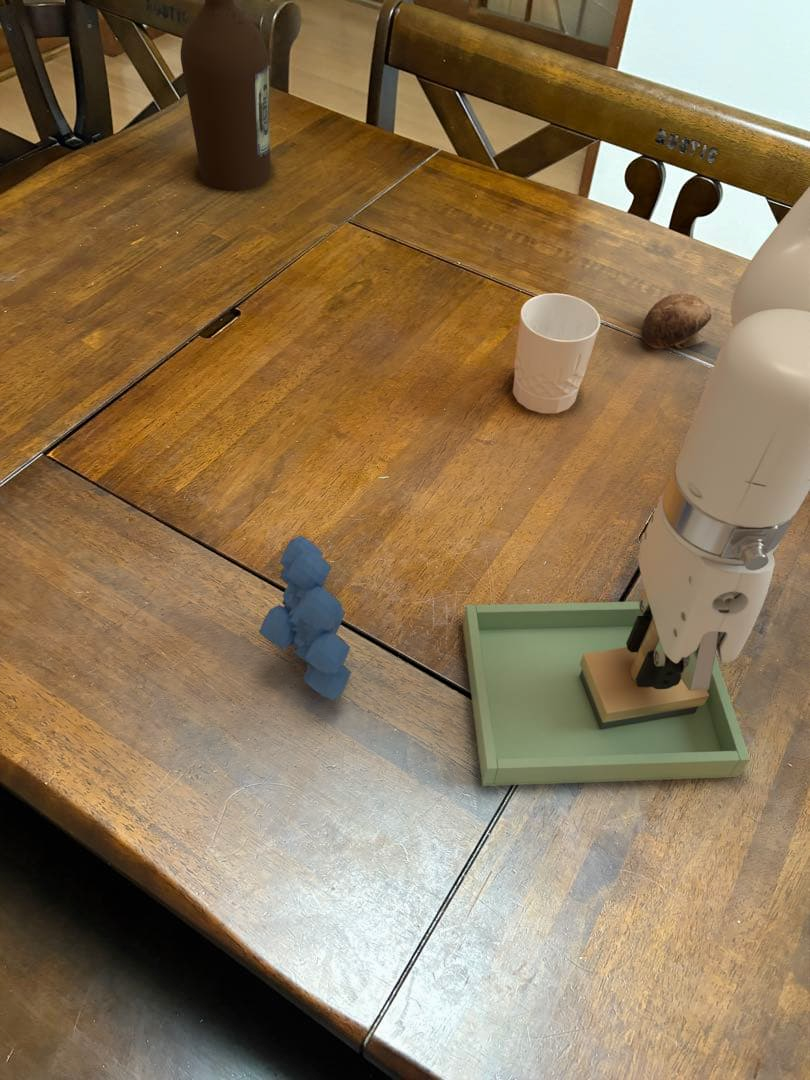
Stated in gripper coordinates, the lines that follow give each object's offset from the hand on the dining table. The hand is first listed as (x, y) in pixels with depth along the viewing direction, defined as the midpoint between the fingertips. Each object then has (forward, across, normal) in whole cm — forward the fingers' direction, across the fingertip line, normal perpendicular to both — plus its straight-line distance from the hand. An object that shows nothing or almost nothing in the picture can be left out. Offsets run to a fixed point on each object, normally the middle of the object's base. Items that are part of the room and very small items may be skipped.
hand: (651, 664), depth 70 cm
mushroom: (+5, +46, -14) cm, 49 cm away
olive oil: (+5, +82, +36) cm, 90 cm away
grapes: (+5, +4, +26) cm, 27 cm away
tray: (+5, 0, +4) cm, 6 cm away
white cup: (+5, +37, +2) cm, 37 cm away
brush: (+4, 0, 0) cm, 4 cm away
